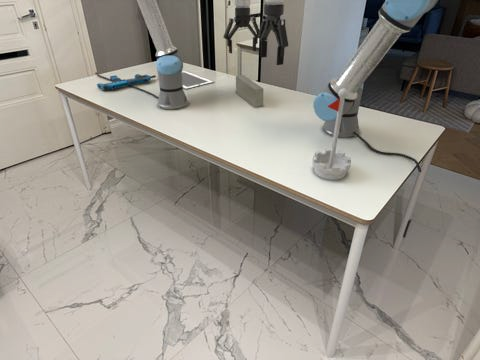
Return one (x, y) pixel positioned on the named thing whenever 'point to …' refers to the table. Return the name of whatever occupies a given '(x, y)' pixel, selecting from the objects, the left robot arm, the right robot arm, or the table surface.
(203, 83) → the tablet
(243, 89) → the bar
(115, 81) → the submachine gun
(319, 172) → the flag stand
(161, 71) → the left robot arm
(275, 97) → the table surface
